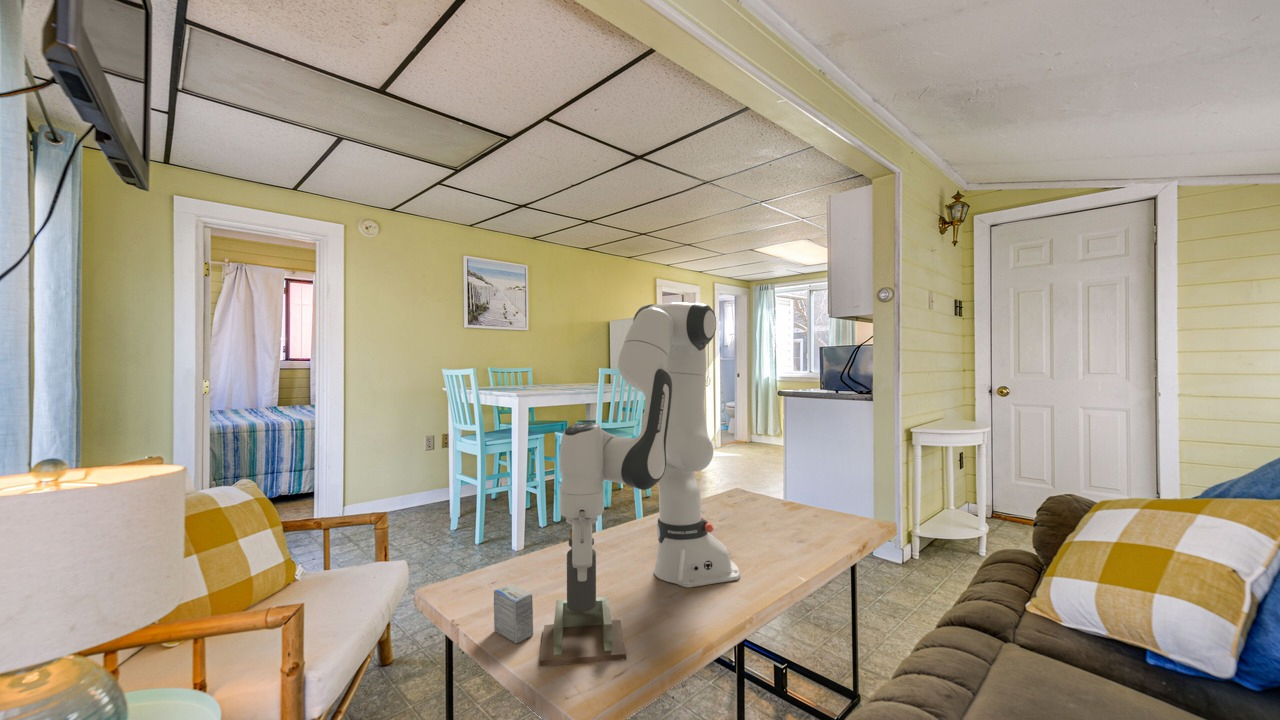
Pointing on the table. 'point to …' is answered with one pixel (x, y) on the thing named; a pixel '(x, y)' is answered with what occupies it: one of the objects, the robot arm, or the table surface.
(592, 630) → the u rest
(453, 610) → the table surface
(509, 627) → the medicine box
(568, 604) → the bottle
